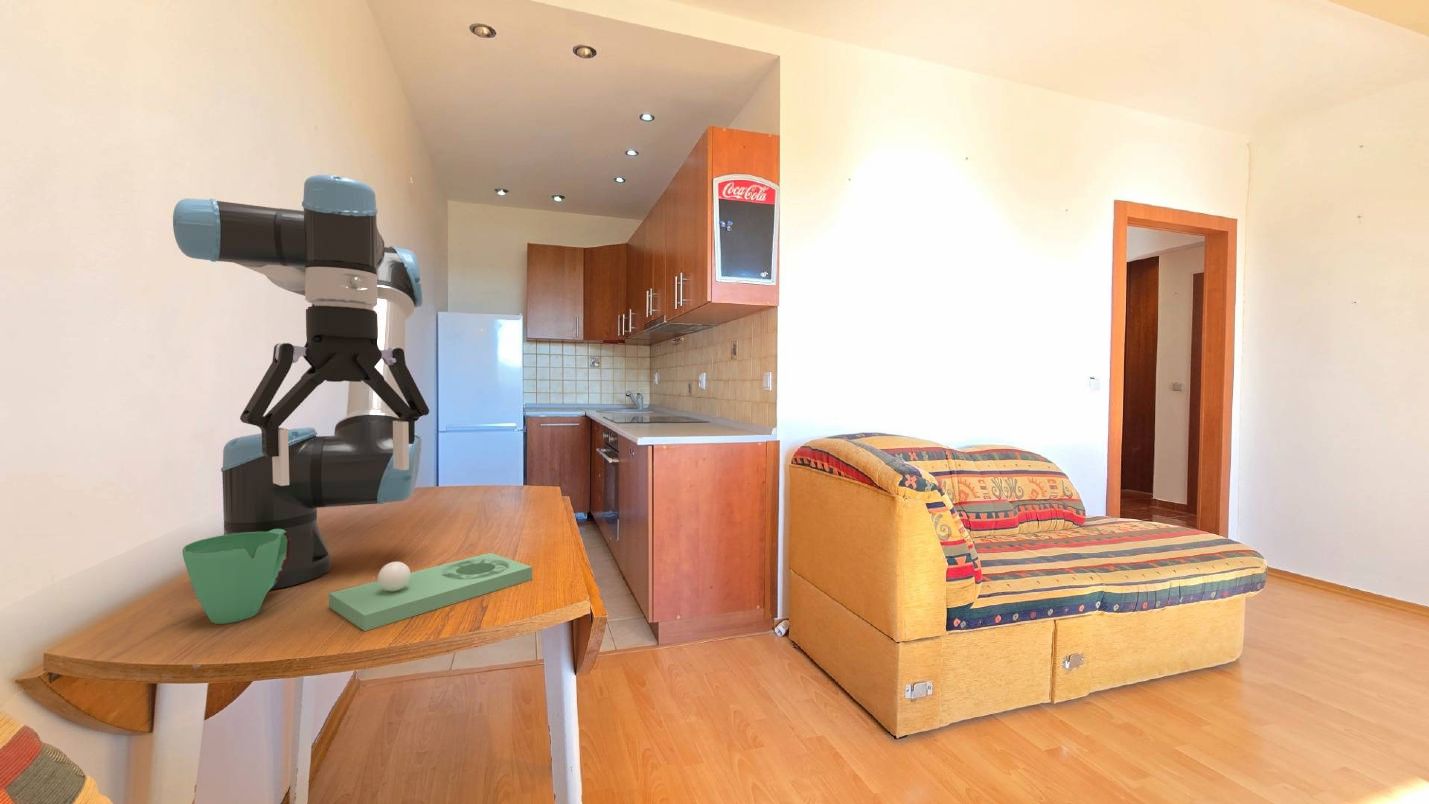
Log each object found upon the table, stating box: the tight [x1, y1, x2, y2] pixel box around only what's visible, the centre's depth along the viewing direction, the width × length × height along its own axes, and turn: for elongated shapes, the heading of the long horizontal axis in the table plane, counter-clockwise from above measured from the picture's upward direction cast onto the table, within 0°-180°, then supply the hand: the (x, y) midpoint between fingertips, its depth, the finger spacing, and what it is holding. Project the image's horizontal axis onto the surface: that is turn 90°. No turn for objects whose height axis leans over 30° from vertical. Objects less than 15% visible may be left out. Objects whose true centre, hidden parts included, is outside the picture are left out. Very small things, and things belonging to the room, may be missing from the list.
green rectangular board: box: [328, 552, 533, 632], centre depth 83 cm, size 24×12×2 cm, turn 142°
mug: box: [182, 529, 290, 625], centre depth 77 cm, size 15×10×10 cm
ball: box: [377, 561, 411, 592], centre depth 78 cm, size 4×4×4 cm
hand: (345, 476), depth 71 cm, fingers open, 13 cm apart
